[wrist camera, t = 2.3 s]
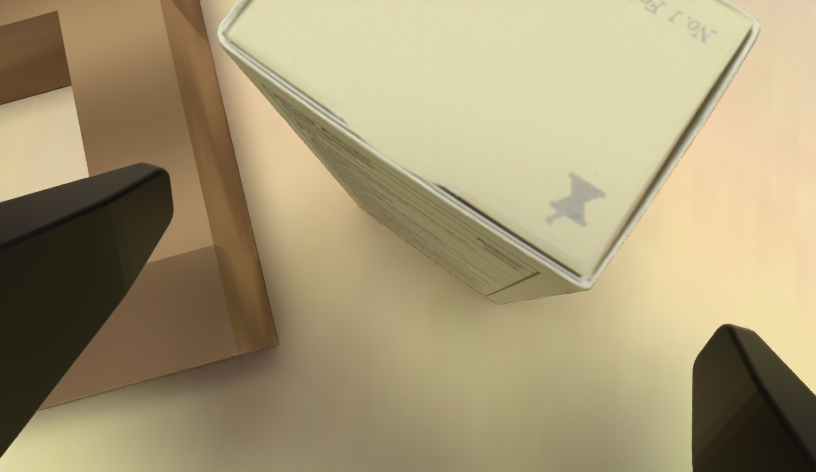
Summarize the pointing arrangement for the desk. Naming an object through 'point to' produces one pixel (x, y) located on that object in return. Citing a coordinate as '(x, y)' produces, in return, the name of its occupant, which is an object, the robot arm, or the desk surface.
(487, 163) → the skincare box
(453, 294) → the desk surface
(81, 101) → the frame
